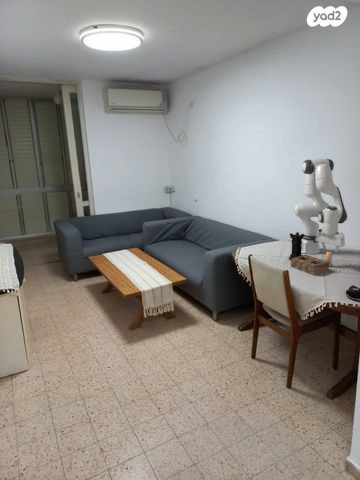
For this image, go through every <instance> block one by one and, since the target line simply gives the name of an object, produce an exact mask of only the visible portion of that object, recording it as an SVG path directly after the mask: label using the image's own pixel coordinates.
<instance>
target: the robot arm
mask: <svg viewBox="0 0 360 480" xmlns="http://www.w3.org/2000/svg"><path fill="white" fill-rule="evenodd" d="M334 167H335V163H334V161H333V160H332V159H331V158H313V159H312V158H311V159H305V160H303V162H302V166H301V171H302V173H303V174H305V178H304V195H305V197H307V198H309V199H311V200H312V201H313V202H300V203H298V204H295V206H294V215H296V216H297V217H298V218H299V219H300V220H301V223H302V225H303V234H304V237H303V239H302V248H301V255H307V254H308V255H317V254H319V253H321V249H323V250H326V249H327V246H326V245H331V246H335V248H334V249H333V252H334V253H338V250H339V249H340V248H342V247H344V246H345V244H346V243H345V242H346V241H345V234H344V233H343V232H340V231H339V225H340V224H341V225H342V224H344V223H345V222H346V221H347V220H348V214H347V213H348V212H347V210H346V207H345V204H344V201H343V198H342V194H341V193H342V192H341V191H340V188H339V186H336V184H335V183H334V180H333V173H332V172H333V171H334ZM322 194H325V195H329V196H330V197H332V198H333V199H334V200H333V201H334V203H335V206H333V205H330V204H329V203H328V202H326V201H325V200H324V199H323V196H322ZM311 218H317V221H318V222H320V224H323V227H320V225H319V223H318V222H316V221H315V220H313V219H311ZM325 244H326V245H325ZM320 245H321V246H322V248H321V249H320Z"/></svg>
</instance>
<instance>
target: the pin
mask: <svg viewBox="0 0 360 480" xmlns="http://www.w3.org/2000/svg"><path fill="white" fill-rule="evenodd" d="M325 254H326V256H325V261H327V262H329V268H331V267H332V261H333V252H332V251H326V253H325Z"/></svg>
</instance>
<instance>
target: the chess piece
mask: <svg viewBox="0 0 360 480" xmlns="http://www.w3.org/2000/svg"><path fill="white" fill-rule="evenodd" d="M289 237H290V238H289V239H291V241H290V242H291V254H289V256H288V259H287V260H289V261H291V258H295V257H299V256H303V255H304V254H302V253H301V248H302V239H303V237H304V233H301V234H300V232H297V231H296V232H295V234H293V233H292V232H291V233H289Z"/></svg>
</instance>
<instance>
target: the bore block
mask: <svg viewBox="0 0 360 480" xmlns="http://www.w3.org/2000/svg"><path fill="white" fill-rule="evenodd" d="M302 255H303V256H299V257H295V258H291V260H290V267H291V268H293V269H296V270H298V271H300V272H301V271H302V272H304V273H306V274H308V275H313V276H315V275H319V274H321V273H325V272H329V271H330V270H329V268H330V267H329V262H327V261H326V260H323V259H320V258H317V257H315V256H312V255H309V254H308V255H307V254H302Z"/></svg>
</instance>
